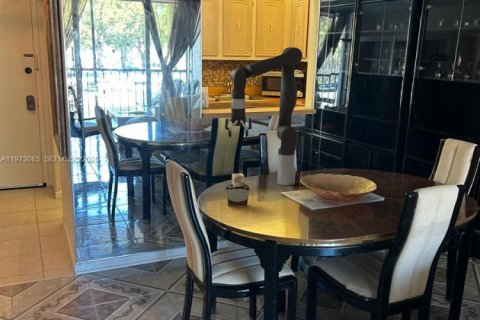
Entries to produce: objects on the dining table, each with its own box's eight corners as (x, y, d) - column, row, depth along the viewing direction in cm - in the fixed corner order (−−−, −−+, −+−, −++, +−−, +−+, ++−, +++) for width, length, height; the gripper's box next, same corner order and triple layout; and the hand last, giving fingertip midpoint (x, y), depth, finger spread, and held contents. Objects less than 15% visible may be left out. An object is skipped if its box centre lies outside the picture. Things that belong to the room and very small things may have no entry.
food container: (251, 202, 220) (251, 183, 218) (250, 206, 214) (250, 187, 212) (226, 201, 221) (226, 182, 219) (224, 205, 215) (224, 186, 213)
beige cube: (242, 183, 218) (242, 173, 217) (244, 186, 213) (244, 176, 212) (232, 183, 217) (232, 173, 216) (234, 186, 213) (234, 176, 211)
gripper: (250, 106, 240) (249, 135, 244) (224, 106, 238) (224, 136, 241) (252, 107, 233) (252, 138, 237) (226, 108, 230) (226, 139, 234)
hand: (238, 137), depth 239 cm, fingers open, 8 cm apart
